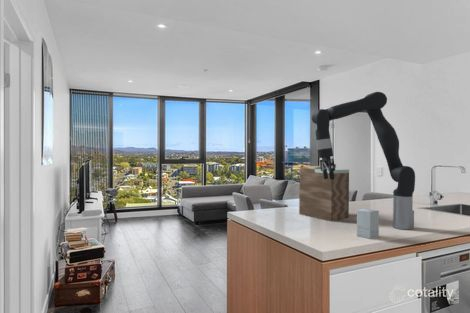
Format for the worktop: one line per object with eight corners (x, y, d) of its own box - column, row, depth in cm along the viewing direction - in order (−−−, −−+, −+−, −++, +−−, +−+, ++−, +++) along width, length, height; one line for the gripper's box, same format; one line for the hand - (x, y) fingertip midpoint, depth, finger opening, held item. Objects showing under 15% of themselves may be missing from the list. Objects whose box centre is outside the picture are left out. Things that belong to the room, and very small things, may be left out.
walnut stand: (316, 211, 219) (316, 167, 219) (348, 218, 198) (349, 169, 197) (299, 214, 210) (299, 168, 210) (331, 221, 189) (331, 170, 189)
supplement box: (379, 237, 154) (379, 210, 153) (370, 239, 149) (370, 211, 149) (365, 233, 160) (365, 208, 160) (356, 235, 155) (356, 209, 155)
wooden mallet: (327, 167, 224) (327, 164, 224) (340, 168, 215) (340, 164, 215) (301, 168, 210) (301, 164, 210) (314, 169, 201) (314, 165, 201)
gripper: (337, 146, 161) (341, 178, 160) (326, 148, 175) (330, 177, 174) (322, 148, 160) (327, 180, 159) (313, 149, 174) (317, 179, 174)
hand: (329, 179), depth 167 cm, fingers open, 8 cm apart
